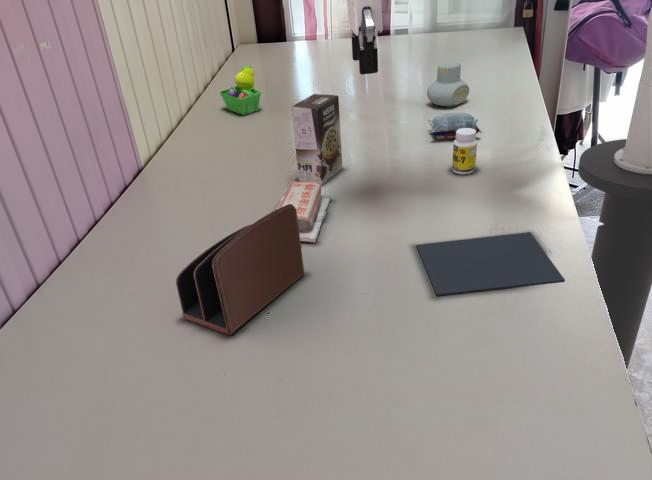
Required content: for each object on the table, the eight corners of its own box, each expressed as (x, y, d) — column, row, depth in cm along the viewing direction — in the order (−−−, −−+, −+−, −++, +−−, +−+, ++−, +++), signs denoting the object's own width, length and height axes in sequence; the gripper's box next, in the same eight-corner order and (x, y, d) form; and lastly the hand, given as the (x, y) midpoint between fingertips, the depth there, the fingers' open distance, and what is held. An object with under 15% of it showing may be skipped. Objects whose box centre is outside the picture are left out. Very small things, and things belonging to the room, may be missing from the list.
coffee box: (322, 185, 136) (316, 108, 126) (297, 181, 139) (289, 105, 129) (344, 169, 142) (339, 94, 132) (319, 165, 145) (313, 92, 135)
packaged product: (281, 178, 129) (329, 178, 127) (283, 200, 132) (331, 200, 130) (260, 219, 115) (314, 219, 113) (263, 243, 118) (316, 243, 116)
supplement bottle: (447, 170, 136) (449, 131, 130) (462, 164, 138) (464, 125, 132) (464, 176, 132) (467, 136, 127) (479, 169, 134) (483, 130, 129)
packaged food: (427, 129, 156) (428, 109, 152) (477, 127, 154) (479, 106, 151) (429, 143, 149) (430, 122, 146) (481, 140, 147) (483, 119, 144)
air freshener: (446, 112, 164) (448, 71, 158) (422, 106, 170) (422, 67, 164) (472, 100, 170) (475, 60, 163) (448, 95, 175) (450, 56, 169)
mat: (529, 234, 111) (530, 232, 111) (564, 282, 99) (565, 279, 98) (416, 246, 112) (416, 244, 111) (436, 296, 99) (436, 294, 99)
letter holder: (305, 274, 108) (297, 197, 99) (230, 337, 96) (214, 255, 87) (259, 261, 113) (248, 187, 104) (183, 319, 101) (162, 240, 92)
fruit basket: (221, 109, 184) (214, 68, 177) (246, 101, 188) (240, 61, 181) (242, 117, 177) (235, 75, 170) (268, 109, 180) (262, 67, 174)
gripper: (392, -40, 98) (393, 76, 108) (375, -52, 112) (378, 52, 122) (344, -34, 98) (350, 81, 109) (332, -47, 112) (339, 57, 122)
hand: (364, 66), depth 115 cm, fingers open, 9 cm apart
